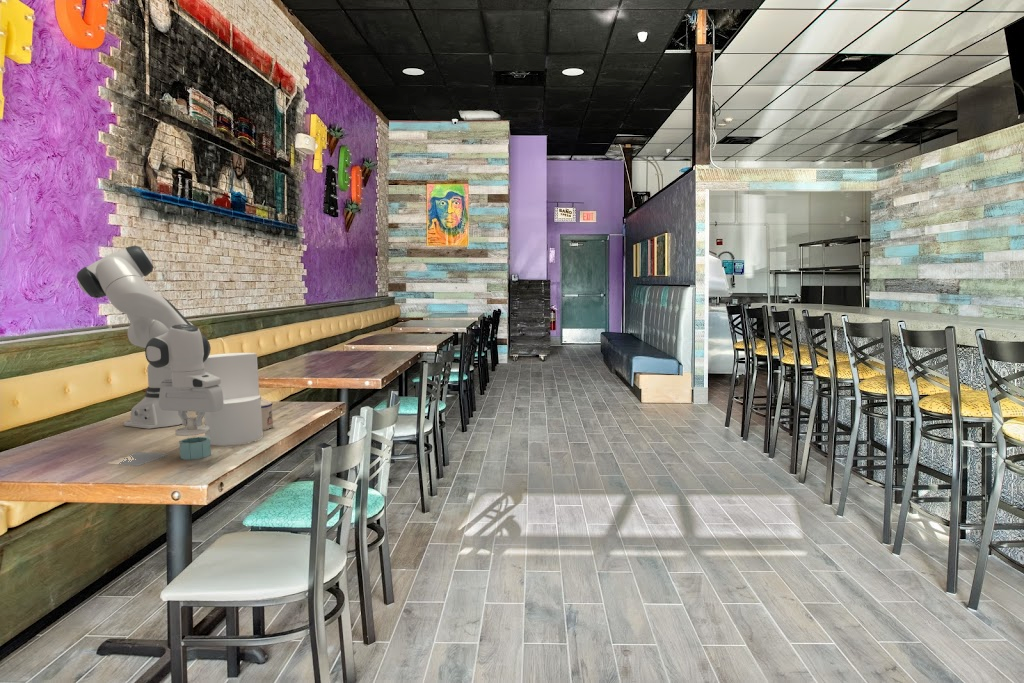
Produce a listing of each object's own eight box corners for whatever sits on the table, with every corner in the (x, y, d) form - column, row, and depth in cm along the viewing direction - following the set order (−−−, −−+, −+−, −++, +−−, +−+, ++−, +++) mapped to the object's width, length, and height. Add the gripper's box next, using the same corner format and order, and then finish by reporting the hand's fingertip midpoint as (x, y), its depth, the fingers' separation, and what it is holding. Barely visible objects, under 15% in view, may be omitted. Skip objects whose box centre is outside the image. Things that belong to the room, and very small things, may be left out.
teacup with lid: (273, 429, 215) (272, 397, 214) (245, 432, 212) (243, 399, 211) (273, 422, 226) (271, 391, 225) (246, 425, 223) (244, 393, 222)
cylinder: (199, 439, 204) (194, 356, 201) (253, 430, 215) (248, 351, 212) (213, 449, 191) (208, 360, 188) (270, 439, 202) (265, 355, 199)
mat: (103, 464, 177) (103, 463, 177) (137, 452, 188) (137, 452, 188) (137, 466, 174) (137, 465, 174) (170, 455, 185) (170, 454, 185)
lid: (168, 435, 178) (167, 421, 178) (191, 428, 187) (190, 414, 187) (194, 436, 176) (193, 422, 176) (216, 429, 185) (215, 415, 185)
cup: (174, 459, 180) (173, 443, 180) (194, 452, 188) (193, 436, 188) (197, 461, 179) (196, 444, 178) (216, 453, 186) (215, 437, 186)
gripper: (151, 380, 180) (155, 426, 181) (209, 381, 175) (213, 429, 176) (168, 377, 186) (172, 422, 187) (225, 378, 181) (228, 424, 182)
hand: (192, 425), depth 182 cm, fingers closed on lid, 3 cm apart
